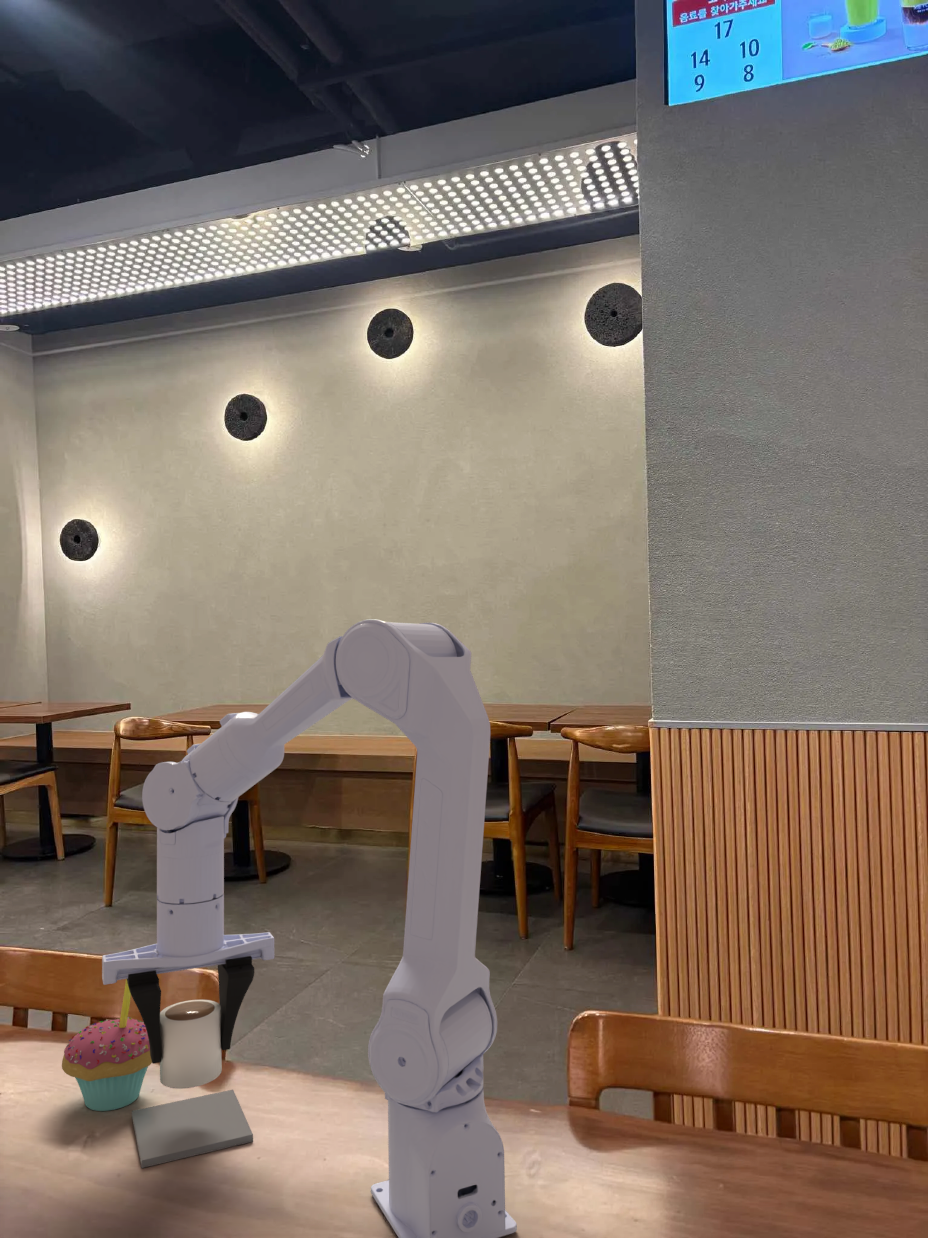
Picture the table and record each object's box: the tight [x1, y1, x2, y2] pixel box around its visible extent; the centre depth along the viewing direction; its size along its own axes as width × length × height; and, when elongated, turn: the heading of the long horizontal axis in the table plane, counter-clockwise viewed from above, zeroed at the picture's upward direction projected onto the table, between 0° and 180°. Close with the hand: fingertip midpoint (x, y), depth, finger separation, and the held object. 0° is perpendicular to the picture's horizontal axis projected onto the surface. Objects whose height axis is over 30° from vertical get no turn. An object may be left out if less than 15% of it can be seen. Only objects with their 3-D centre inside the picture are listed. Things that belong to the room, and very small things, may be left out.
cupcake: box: [61, 979, 153, 1112], centre depth 85 cm, size 9×8×12 cm
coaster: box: [131, 1089, 254, 1169], centre depth 79 cm, size 9×9×1 cm
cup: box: [159, 999, 223, 1090], centre depth 79 cm, size 5×5×6 cm
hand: (190, 1052), depth 79 cm, fingers closed on cup, 5 cm apart
